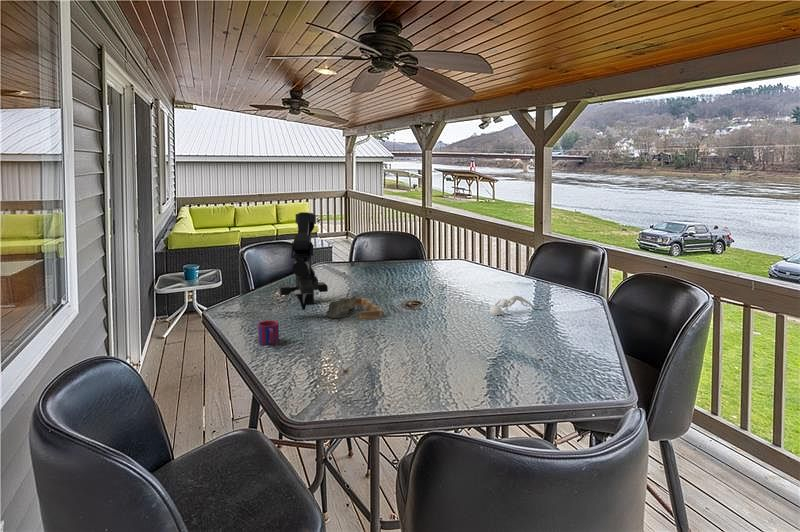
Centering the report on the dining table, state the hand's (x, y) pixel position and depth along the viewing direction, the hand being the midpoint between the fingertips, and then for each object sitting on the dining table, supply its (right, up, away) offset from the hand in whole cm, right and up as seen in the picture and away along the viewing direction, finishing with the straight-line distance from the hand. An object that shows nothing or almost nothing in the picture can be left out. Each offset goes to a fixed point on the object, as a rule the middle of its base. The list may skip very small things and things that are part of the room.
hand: (303, 309), depth 205 cm
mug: (-6, -9, -31) cm, 32 cm away
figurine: (+86, -3, +14) cm, 87 cm away
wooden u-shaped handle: (+22, -2, +10) cm, 24 cm away
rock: (+14, -3, +6) cm, 16 cm away
